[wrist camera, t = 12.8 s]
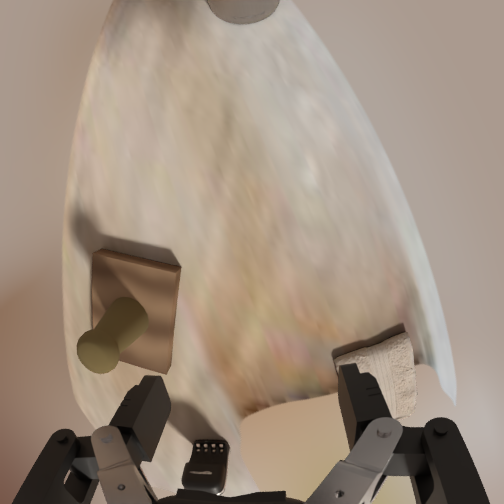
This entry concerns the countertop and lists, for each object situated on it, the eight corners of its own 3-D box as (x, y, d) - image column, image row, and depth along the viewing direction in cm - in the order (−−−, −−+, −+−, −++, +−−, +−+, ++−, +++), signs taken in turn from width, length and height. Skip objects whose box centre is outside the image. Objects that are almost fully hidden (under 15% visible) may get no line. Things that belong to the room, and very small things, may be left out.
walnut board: (101, 248, 40) (92, 253, 38) (181, 267, 40) (175, 273, 38) (101, 344, 44) (94, 351, 42) (171, 365, 44) (166, 374, 42)
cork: (114, 289, 39) (71, 326, 28) (153, 308, 39) (119, 352, 29) (106, 324, 40) (67, 365, 30) (143, 343, 41) (111, 390, 30)
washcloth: (351, 429, 47) (354, 441, 44) (329, 354, 43) (333, 366, 40) (413, 406, 45) (419, 417, 42) (404, 326, 41) (412, 336, 38)
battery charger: (228, 436, 48) (219, 487, 37) (232, 449, 49) (224, 498, 38) (190, 436, 48) (176, 484, 37) (195, 449, 49) (183, 495, 38)
